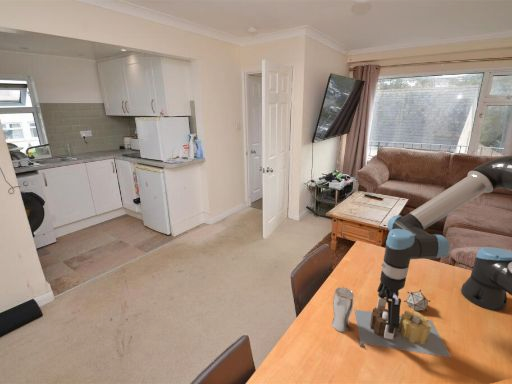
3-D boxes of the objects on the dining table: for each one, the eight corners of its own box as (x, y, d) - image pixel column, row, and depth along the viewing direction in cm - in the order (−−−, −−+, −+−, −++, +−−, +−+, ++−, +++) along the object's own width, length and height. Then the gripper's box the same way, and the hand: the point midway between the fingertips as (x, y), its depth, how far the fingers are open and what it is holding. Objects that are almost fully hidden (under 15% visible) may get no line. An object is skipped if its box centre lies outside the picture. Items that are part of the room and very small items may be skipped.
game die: (418, 319, 108) (436, 314, 100) (399, 310, 109) (415, 304, 101) (418, 298, 114) (435, 291, 106) (399, 289, 114) (415, 282, 106)
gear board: (430, 323, 101) (435, 305, 99) (450, 361, 87) (456, 341, 84) (353, 312, 107) (356, 295, 104) (360, 346, 92) (363, 327, 89)
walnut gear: (392, 321, 100) (395, 308, 99) (400, 341, 92) (403, 327, 90) (367, 317, 102) (369, 305, 100) (372, 336, 94) (375, 323, 92)
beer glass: (337, 335, 96) (341, 301, 92) (327, 320, 103) (330, 288, 98) (353, 330, 98) (358, 297, 93) (343, 317, 105) (347, 285, 100)
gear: (414, 321, 100) (417, 309, 98) (433, 341, 92) (437, 328, 90) (393, 325, 99) (395, 312, 97) (411, 346, 90) (414, 332, 88)
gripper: (374, 253, 101) (366, 300, 108) (391, 295, 79) (380, 350, 86) (395, 255, 100) (386, 303, 107) (418, 298, 78) (405, 354, 85)
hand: (383, 324), depth 96 cm, fingers open, 11 cm apart
